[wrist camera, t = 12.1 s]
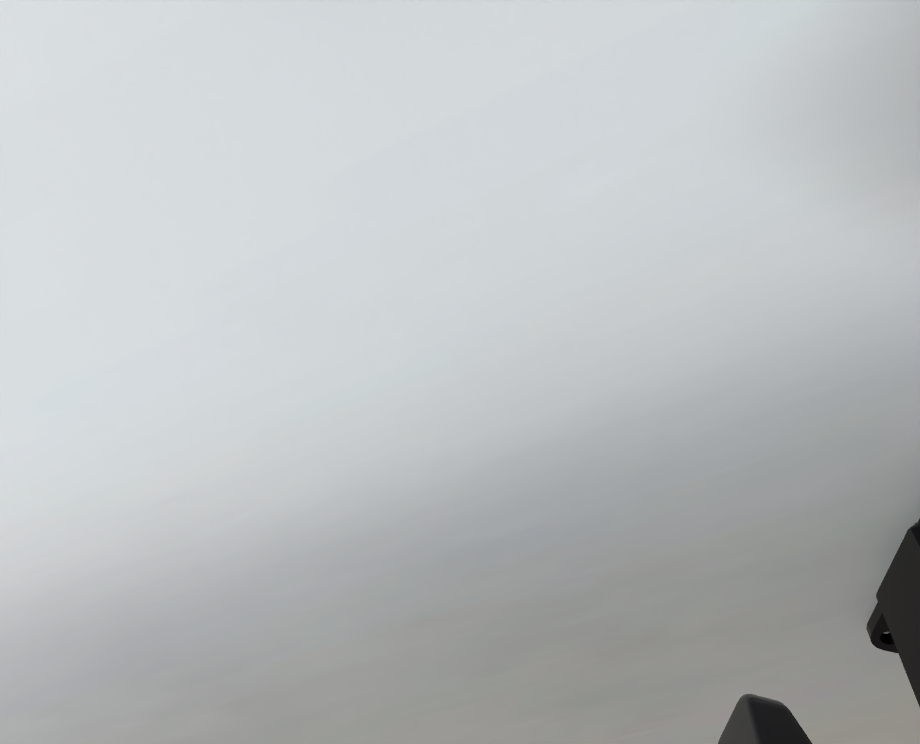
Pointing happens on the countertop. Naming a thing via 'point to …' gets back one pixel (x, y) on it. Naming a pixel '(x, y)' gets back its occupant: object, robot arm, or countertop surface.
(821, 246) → the countertop surface
